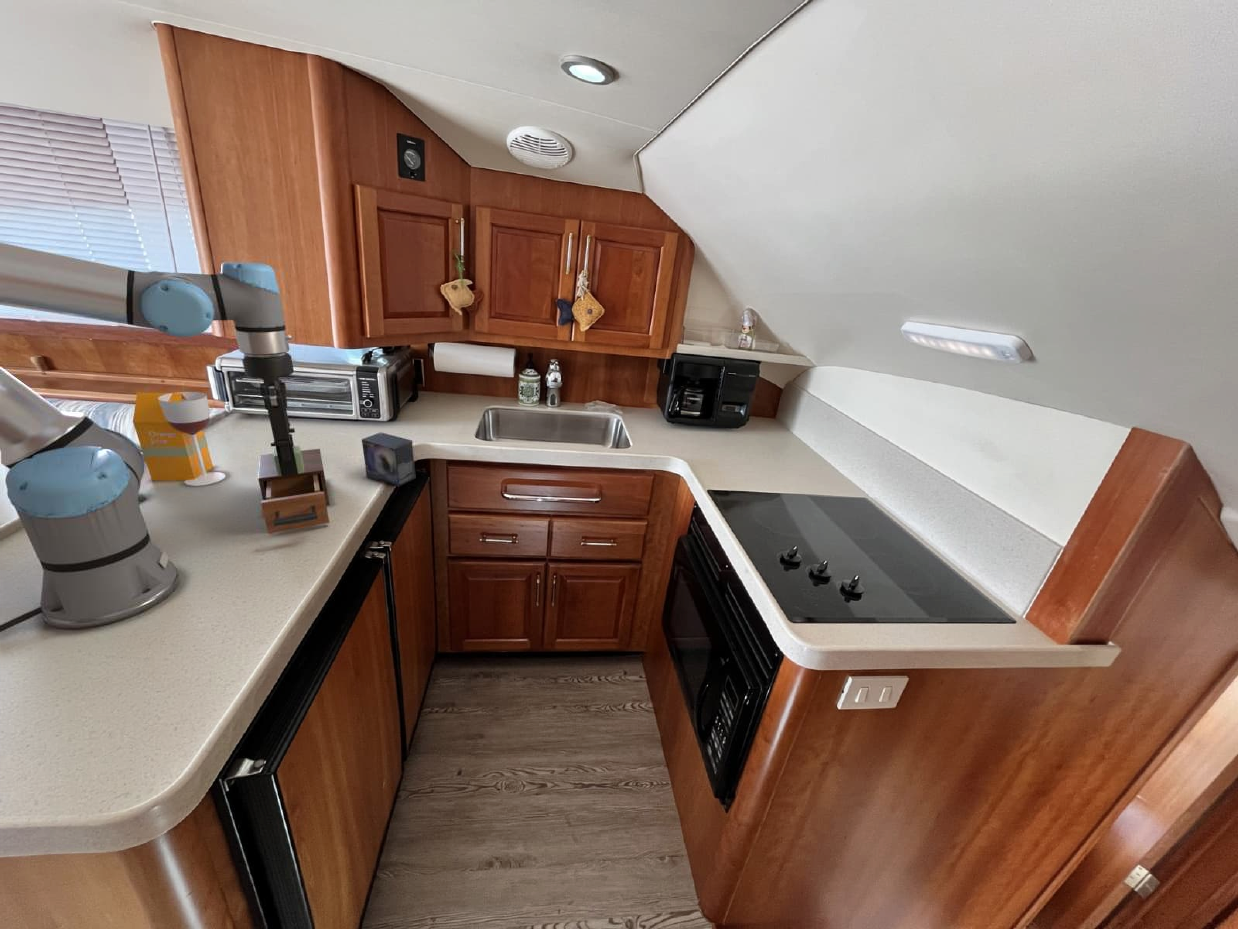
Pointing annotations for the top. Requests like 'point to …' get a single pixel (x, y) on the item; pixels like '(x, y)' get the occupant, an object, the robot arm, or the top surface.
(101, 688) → the top surface
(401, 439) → the small box
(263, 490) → the cabinet
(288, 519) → the drawer
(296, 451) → the block
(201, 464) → the wineglass
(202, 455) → the orange juice
